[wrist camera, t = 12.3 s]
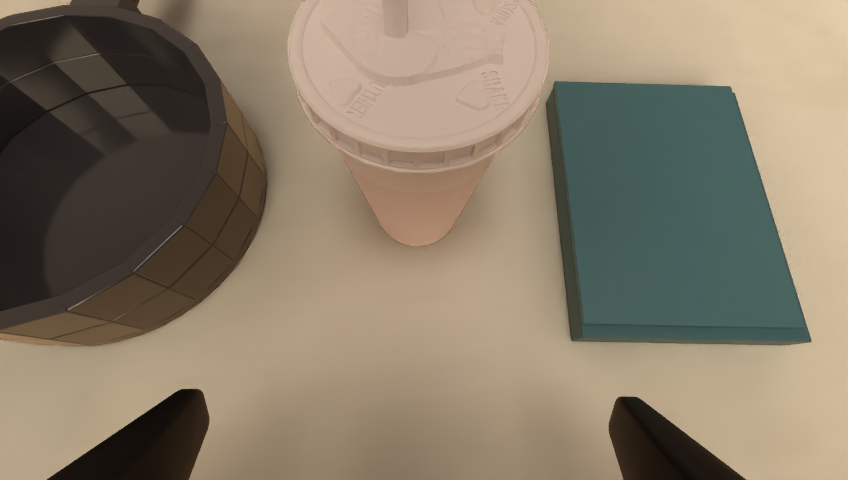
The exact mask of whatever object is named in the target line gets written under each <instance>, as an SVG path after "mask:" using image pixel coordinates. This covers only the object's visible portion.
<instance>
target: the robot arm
mask: <svg viewBox="0 0 848 480" xmlns="http://www.w3.org/2000/svg"><path fill="white" fill-rule="evenodd" d="M208 426H209V414H208V410H207V406H206V402H205V398H204V395H203V392H202V391H201V390H199V389H181V390H179V391H177V392H175V393H174V394H172V395H171V396H169V397H168V398H166V399H165V400H164V401H162V402H161V403H159V404H158V405H156V406H155V407H153V408H152V409H150V410H149V411H147V412H146V413H144V414H143V415H141V416H140V417H138V418H137V419H135V420H134V421H133V422H131V423H130V424H128V425H127V426H125V427H124V428H122V429H121V430H119V431H118V432H116V433H115V434H113V435H112V436H110V437H109V438H107V439H106V440H104V441H103V442H102V443H100V444H99V445H97V446H96V447H94V448H93V449H91V450H90V451H88V452H87V453H85V454H84V455H82V456H81V457H79V458H78V459H76V460H75V461H73V462H72V463H70V464H69V465H68V466H66V467H65V468H63V469H62V470H60V471H59V472H57V473H56V474H54V475H53V476H51V477H50V478H48V479H47V480H189V477H190V475H191V472H192V469H193V467H194V464H195V461H196V459H197V456H198V453H199V451H200V448H201V446H202V443H203V440H204V438H205V435H206V432H207V430H208ZM609 434H610V437H611V441H612V444H613V447H614V450H615V453H616V457H617V460H618V463H619V466H620V470H621V473H622V476H623V479H624V480H746V479H745V478H743V477H742V476H741V475H739V474H738V473H737V472H735V471H734V470H733V469H732V468H730V467H729V466H728V465H726V464H725V463H724V462H722V461H721V460H720V459H718V458H717V457H716V456H714V455H713V454H712V453H711V452H709V451H708V450H707V449H705V448H704V447H703V446H701V445H700V444H699V443H697V442H696V441H695V440H693V439H692V438H691V437H690V436H688V435H687V434H686V433H684V432H683V431H682V430H680V429H679V428H678V427H676V426H675V425H674V424H673V423H671V422H670V421H669V420H667V419H666V418H665V417H663V416H662V415H661V414H659V413H658V412H657V411H655V410H654V409H653V408H652V407H650V406H649V405H648V404H646V403H645V402H644V401H642V400H641V399H639V398H637V397H618V398H617V399H616V401H615V405H614V408H613V411H612V415H611V418H610V422H609Z"/></svg>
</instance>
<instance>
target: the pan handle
mask: <svg viewBox="0 0 848 480" xmlns="http://www.w3.org/2000/svg"><path fill="white" fill-rule="evenodd" d="M138 3H139V0H72V1H71V3H70V5H85V6H115V7H120V8H123V9H127V10H130V11H133V12H137V13H140V14H141V12H140V11H139V9H138V8H137V6H138Z"/></svg>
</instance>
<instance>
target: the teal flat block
mask: <svg viewBox="0 0 848 480" xmlns="http://www.w3.org/2000/svg"><path fill="white" fill-rule="evenodd" d="M546 107H547V116H548V125H549V134H550V144H551V153H552V162H553V171H554V181H555V190H556V199H557V208H558V217H559V227H560V236H561V245H562V254H563V264H564V273H565V282H566V291H567V301H568V310H569V319H570V328H571V338H572V341H595V342H646V343H697V344H748V345H792V344H800V343H808V342H811V338H810V335H809V331H808V328H807V325H806V322H805V318H804V315H803V312H802V309H801V306H800V302H799V299H798V296H797V293H796V289H795V286H794V283H793V280H792V277H791V273H790V270H789V267H788V264H787V260H786V257H785V254H784V251H783V247H782V244H781V241H780V238H779V235H778V231H777V228H776V225H775V222H774V218H773V215H772V212H771V209H770V206H769V202H768V199H767V196H766V193H765V189H764V186H763V183H762V180H761V176H760V173H759V170H758V167H757V164H756V160H755V157H754V154H753V151H752V147H751V144H750V141H749V138H748V135H747V131H746V128H745V125H744V122H743V118H742V115H741V112H740V109H739V106H738V102H737V99H736V96H735V93H733V92H732V89H731V87H730V86H696V85H661V84H626V83H592V82H557V81H556V82H555V83H554V85H553V90H552V92H551V94H550V96H549V98H548V101H547V103H546Z"/></svg>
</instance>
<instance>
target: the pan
mask: <svg viewBox="0 0 848 480" xmlns="http://www.w3.org/2000/svg"><path fill="white" fill-rule="evenodd" d="M265 194H266V168H265V164H264V159H263V154H262V151H261V149H260V146H259V144H258V140H257V137H256V136H255V134H254V132H253V131H252V129H251V128H250V126H249V124H248V123H247V121H246V120H245V118H244V116H243V115H242V113H241V112H240V110H239V108H238V107H237V105H236V103H235V102H234V100H233V99H232V97H231V95H230V94H229V92H228V91H227V89H226V87H225V86H224V84H223V83H222V81H221V79H220V78H219V76H218V75H217V73H216V72H215V70H214V69H213V67H212V66H211V64H210V63H209V61H208V60H207V58H206V57H205V55H204V54H203V52H202V51H201V49H200V47H199V46H198V45H197V44H196V43H194V42H193V41H191V40H190V39H188V38H187V37H186V36H184V35H183V34H181V33H180V32H178V31H177V30H175V29H174V28H173V27H171V26H170V25H168V24H167V23H165V22H164V21H162V20H160V19H157V18H154V17H150V16H147V15H144V14H140V13H137V12H133V11H130V10H127V9H123V8H120V7H115V6H85V5H62V6H57V7H51V8H46V9H40V10H35V11H30V12H24V13H19V14H13V15H11V16H7V17H4V18H2V19H0V340H5V341H13V342H21V343H29V344H37V345H62V346H94V345H101V344H107V343H113V342H118V341H122V340H125V339H128V338H132V337H135V336H138V335H141V334H144V333H146V332H149V331H151V330H153V329H156V328H158V327H160V326H163V325H164V324H166V323H168V322H170V321H172V320H173V319H175V318H177V317H179V316H180V315H182V314H184V313H185V312H187V311H188V310H189V309H191V308H192V307H194V306H195V305H196V304H198V303H199V302H201V301H202V300H203V299H204V298H205V297H206V296H208V295H209V294H210V293H211V292H212V291H213V290H214V289H215V288H217V287H218V286H219V285H220V283H221V282H222V281H223V280H224V279H225V278H226V277H227V276H228V275H229V273H230V272H231V271H232V270H233V269H234V267H235V266H236V264H237V263H238V262H239V260H240V259H241V257H242V256H243V255H244V253H245V251H246V250H247V248H248V246H249V244H250V242H251V240H252V239H253V237H254V234H255V232H256V229H257V227H258V224H259V222H260V219H261V215H262V211H263V207H264V203H265Z"/></svg>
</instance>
